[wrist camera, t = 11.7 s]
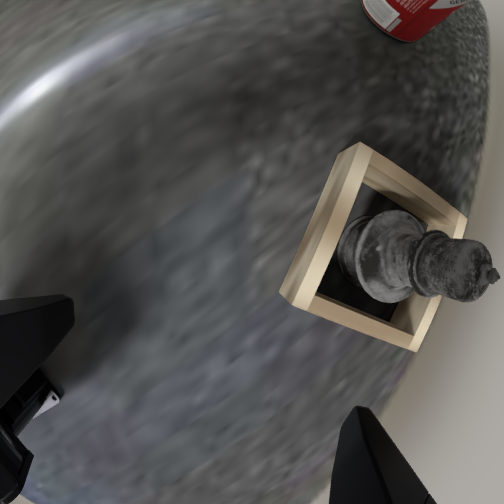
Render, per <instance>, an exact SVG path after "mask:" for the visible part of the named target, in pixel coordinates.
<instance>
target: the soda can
mask: <svg viewBox="0 0 504 504" xmlns="http://www.w3.org/2000/svg"><path fill="white" fill-rule="evenodd" d="M468 1H469V0H361V5H362V8H363V10H364V12H365V14H366V15H367V16H368V18H369V19H370V20H371V21H372V22H373V23H374V24H375V25H376V26H377V27H378V28H379V29H381V30H382V31H383V32H385V33H386V34H388V35H389V36H391V37H393V38H395V39H398V40H401V41H404V42H415V41H417V40H418V39H420V38H421V37H422V36H423V35H425V34H426V33H427V32H429V31H430V30H431V29H432V28H434V27H435V26H436V25H437V24H439V23H440V22H441V21H443V20H444V19H445V18H447V17H448V16H449V15H450V14H452V13H453V12H454V11H456V10H457V9H458V8H460V7H461V6H462V5H464V4H465V3H467V2H468Z"/></svg>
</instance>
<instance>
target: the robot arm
mask: <svg viewBox="0 0 504 504" xmlns="http://www.w3.org/2000/svg"><path fill="white" fill-rule="evenodd" d="M74 322H75V315H74V302H73V300H72V299H71V298H70V297H68V296H66V295H64V294H60V295H50V296H40V297H29V298H19V299H8V300H0V504H9V503H10V502H12V501H13V500H14V499H15V498H16V497H17V496H18V495H19V494H20V492H21V491H22V489H23V487H24V484H25V481H26V478H27V475H28V472H29V469H30V466H31V463H32V460H33V457H34V455H33V454H32V453H31V452H30V450H28V449H27V448H26V447H25V446H24V445H23V444H22V442H21V441H20V440H19V439H18V437H17V436H18V435H19V434H20V432H21V431H22V430H23V429H24V428H25V426H26V425H27V424H28V423H29V422H30V420H31V419H33V418H35V417H36V416H38V415H39V414H41V413H43V412H44V411H46V410H48V409H49V408H51V407H52V406H54V405H56V404H57V403H58V402H59V401H60V400H61V396H60V395H59V393H58V392H57V391H56V390H55V388H54V387H53V386H52V385H51V383H50V382H49V381H48V380H47V378H46V377H45V376H44V374H43V373H42V372H41V370H40V369H39V368H38V367H39V366H40V365H41V364H42V363H43V362H44V361H45V360H46V359H47V358H48V357H49V355H50V354H51V353H52V352H53V351H54V349H55V348H56V347H57V345H58V344H59V343H60V342H61V340H62V339H63V338H64V337H65V336H66V334H67V333H68V332H69V331H70V329H71V328H72V327H73V325H74ZM54 396H55V397H56V398H55V397H54ZM329 504H437V503H436V502H435V500H434V499H433V498H432V496H431V495H430V494H428V491H427V489H426V488H425V486H424V485H423V483H422V482H421V481H420V479H419V478H418V476H417V475H416V473H415V472H414V471H413V469H412V468H411V466H410V465H409V463H408V462H407V461H406V459H405V458H404V456H403V455H402V454H401V452H400V451H399V449H398V448H397V446H396V445H395V443H394V442H393V441H392V439H391V438H390V436H389V435H388V434H387V432H386V431H385V429H384V428H383V427H382V425H381V424H380V422H379V421H378V419H377V418H376V417H375V415H374V414H373V412H372V411H371V410H370V409H369V408H367V407H363V406H355V407H354V408H353V409H352V411H351V412H350V414H349V415H348V417H347V418H346V420H345V421H344V423H343V425H342V427H341V430H340V435H339V441H338V446H337V451H336V456H335V461H334V466H333V471H332V478H331V488H330V498H329Z"/></svg>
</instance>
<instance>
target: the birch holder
mask: <svg viewBox="0 0 504 504" xmlns="http://www.w3.org/2000/svg"><path fill="white" fill-rule="evenodd" d="M362 182H363V183H365V184H366V185H368V186H370V187H371V188H373V189H375V190H376V191H378V192H379V193H381V194H383V195H384V196H386V197H387V198H389V199H391V200H392V201H394V202H395V203H397V204H398V205H400V206H401V207H403V208H405V209H406V210H408V211H409V212H411V213H412V214H414V215H415V216H417V217H418V218H419V219H421V220H422V221H424V222H425V223H427V224H428V227H427V230H426V232H427V231H429V230H440V231H443V232H444V233H446V234H447V235H448V236H449V237H450V238H456V239H462V237H463V234H464V230H465V226H466V223H467V218H466V217H464V216H463V215H462V214H461V213H460V212H458V211H457V210H456V209H455V208H454V207H452V206H451V205H450V204H449V203H447V202H446V201H445V200H444V199H442V198H441V197H440V196H439V195H437V194H436V193H435V192H433V191H432V190H431V189H429V188H428V187H427V186H425V185H424V184H423V183H421V182H420V181H419V180H417V179H416V178H414V177H413V176H412V175H410V174H409V173H407V172H406V171H405V170H403V169H402V168H400V167H399V166H397V165H396V164H394V163H393V162H391V161H390V160H388V159H387V158H385V157H384V156H382V155H381V154H379V153H378V152H376V151H374V150H373V149H371V148H370V147H368V146H366V145H365V144H363V143H362V142H358V143H357V144H355V145H353V146H351V147H349V148H347V149H346V150H344V151H342V152H340V153H338V155H337V158H336V160H335V163H334V165H333V168H332V170H331V172H330V175H329V177H328V180H327V182H326V185H325V187H324V189H323V192H322V194H321V197H320V199H319V201H318V204H317V206H316V209H315V211H314V213H313V216H312V218H311V220H310V223H309V225H308V227H307V230H306V232H305V234H304V236H303V239H302V241H301V243H300V246H299V248H298V250H297V252H296V255H295V257H294V259H293V261H292V264H291V266H290V268H289V270H288V273H287V275H286V277H285V279H284V281H283V284H282V286H281V288H280V290H279V293H280V294H281V295H282V296H283V297H284V298H285V299H286V300H287V301H288V302H289V303H290V304H291V305H293V306H295V307H298V308H300V309H303V310H305V311H308V312H310V313H313V314H316V315H318V316H321V317H323V318H326V319H328V320H331V321H334V322H336V323H339V324H341V325H344V326H347V327H349V328H352V329H354V330H357V331H360V332H362V333H365V334H368V335H370V336H373V337H376V338H378V339H381V340H384V341H387V342H389V343H392V344H395V345H398V346H400V347H403V348H406V349H409V350H411V351H414V352H417V350H418V348H419V346H420V344H421V342H422V340H423V338H424V336H425V334H426V332H427V330H428V328H429V325H430V323H431V321H432V319H433V316H434V314H435V312H436V309H437V307H438V305H439V302H440V300H441V297H442V295H438V296H437V297H433V298H424V297H422V296H420V295H418V294H417V293H416V292H415V291H414V292H413V293H412V294H411V295H410V296H409V297H407V298H405V299H403V300H402V301H399V302H398V304H397V307H396V309H395V311H394V313H393V316H392V318H391V320H390V322H387V321H385V320H382V319H380V318H377V317H375V316H373V315H370V314H368V313H366V312H363V311H361V310H358V309H356V308H354V307H351V306H349V305H346V304H344V303H342V302H339V301H337V300H335V299H332V298H330V297H328V296H325V295H323V294H321V293H318V292H316V290H317V288H318V286H319V284H320V282H321V279H322V277H323V275H324V273H325V270H326V268H327V266H328V264H329V261H330V259H331V257H332V254H333V252H334V250H335V247H336V245H337V243H338V240H339V238H340V236H341V233H342V231H343V228H344V226H345V223H346V221H347V218H348V216H349V214H350V211H351V208H352V206H353V203H354V201H355V198H356V196H357V193H358V190H359V188H360V185H361V183H362Z"/></svg>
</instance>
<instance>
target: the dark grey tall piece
mask: <svg viewBox="0 0 504 504" xmlns="http://www.w3.org/2000/svg"><path fill="white" fill-rule="evenodd" d="M337 256H338V263H339V267H340V270H341V272H342V273H343V275H344V276H345V278H346V279H347V280H348V281H349V282H351V283H352V284H354V285H356V286H358V287H362V288H364V290H365V291H366V292H367V293H368V294H369V295H370V296H371V297H372V298H374V299H377V300H379V301H381V302H387V303H394V302H398V301H402V300H403V299H405V298H407V297H409V296H410V295H411V294H412V293H413V292H414V291H415V292H416V293H417V294H418V295H420V296H422V297H424V298H433V297H437V296H438V295H442V296H445V297H448V298H451V299H454V300H457V301H461V302H472V301H475V300H476V299H478V298H479V297H481V296H482V295H483V294H484V292H485V291H486V290H487V288H488V286H489V283H490V284H493V283H495V282H496V281H497V280H498V279H500V275H499V273H498V272H497V270H496V268H492V259H491V255H490V253H489V251H488V250H487V248H486V247H485V246H484V245H483V244H482V243H480V242H478V241H475V240H469V239H456V238H450V237H449V236H448V235H447V234H446V233H444V232H443V231H440V230H429V231H427V232H425V231H424V229H423V227H422V225H421V224H420V223H419V222H418V221H417V219H416V218H415V217H413V216H412V215H410V214H409V213H407V212H404V211H400V210H387V211H385V212H382V213H380V214H378V215H376V216H363V217H360V218H358V219H355V220H354V221H353V222H351V223H350V224H349V225H348V226H347V227H346V229H345V230H344V231H343V233H342V235H341V238H340V240H339V243H338V249H337Z"/></svg>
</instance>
